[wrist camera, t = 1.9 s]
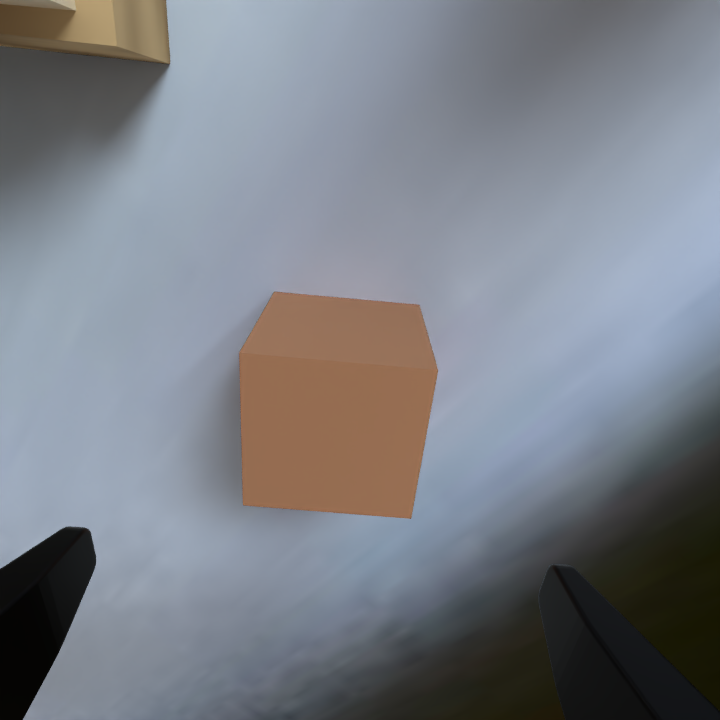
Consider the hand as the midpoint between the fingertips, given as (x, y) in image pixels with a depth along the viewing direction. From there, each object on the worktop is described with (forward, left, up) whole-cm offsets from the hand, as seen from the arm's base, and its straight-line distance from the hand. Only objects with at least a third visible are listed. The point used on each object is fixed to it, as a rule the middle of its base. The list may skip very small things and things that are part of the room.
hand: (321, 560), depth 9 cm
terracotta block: (0, 0, -9) cm, 9 cm away
